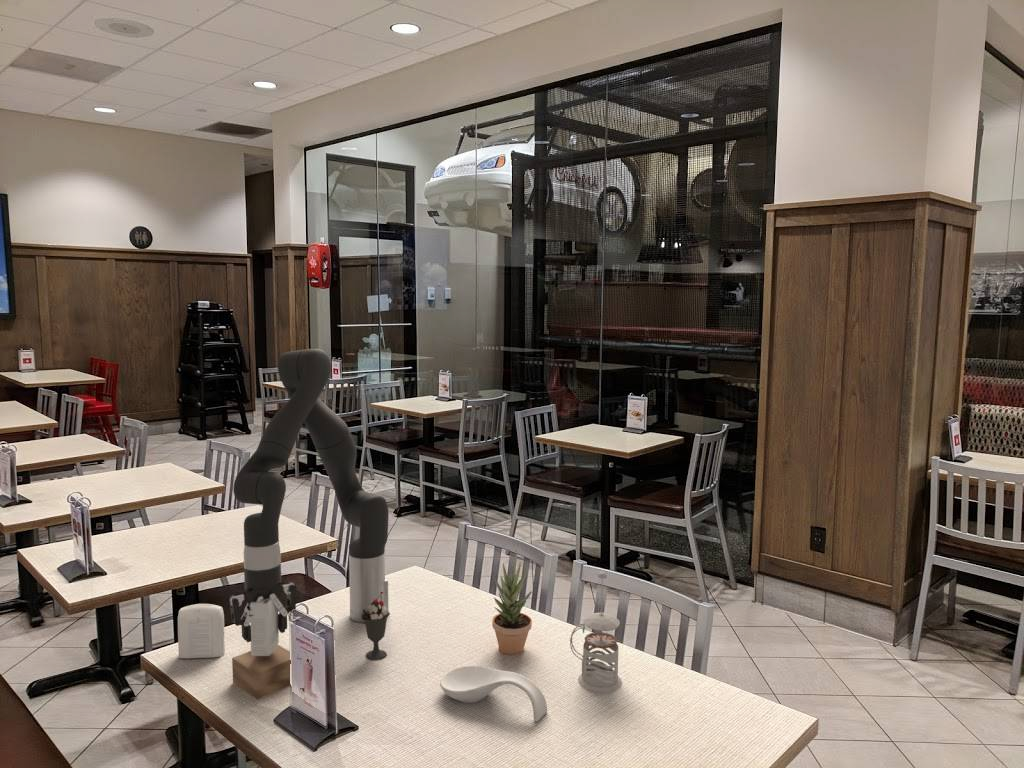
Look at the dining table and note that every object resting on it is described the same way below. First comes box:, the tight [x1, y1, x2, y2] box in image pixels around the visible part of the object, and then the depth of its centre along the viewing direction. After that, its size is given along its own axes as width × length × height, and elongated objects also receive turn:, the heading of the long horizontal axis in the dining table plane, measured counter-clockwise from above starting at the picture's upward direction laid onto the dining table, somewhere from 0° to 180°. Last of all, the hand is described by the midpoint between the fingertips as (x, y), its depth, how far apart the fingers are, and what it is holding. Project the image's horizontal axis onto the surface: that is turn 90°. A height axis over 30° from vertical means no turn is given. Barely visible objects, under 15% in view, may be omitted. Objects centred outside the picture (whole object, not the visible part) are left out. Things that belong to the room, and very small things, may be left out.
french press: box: [569, 571, 623, 694], centre depth 161 cm, size 10×12×25 cm
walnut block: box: [231, 643, 291, 701], centre depth 160 cm, size 10×10×6 cm
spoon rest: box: [439, 665, 548, 723], centre depth 153 cm, size 24×12×7 cm, turn 62°
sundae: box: [361, 592, 391, 661], centre depth 172 cm, size 7×7×15 cm
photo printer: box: [177, 603, 226, 659], centre depth 172 cm, size 10×4×12 cm, turn 98°
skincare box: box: [250, 598, 280, 656], centre depth 159 cm, size 6×4×12 cm
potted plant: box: [491, 549, 533, 655], centre depth 176 cm, size 10×10×25 cm
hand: (265, 635), depth 160 cm, fingers closed on skincare box, 6 cm apart
